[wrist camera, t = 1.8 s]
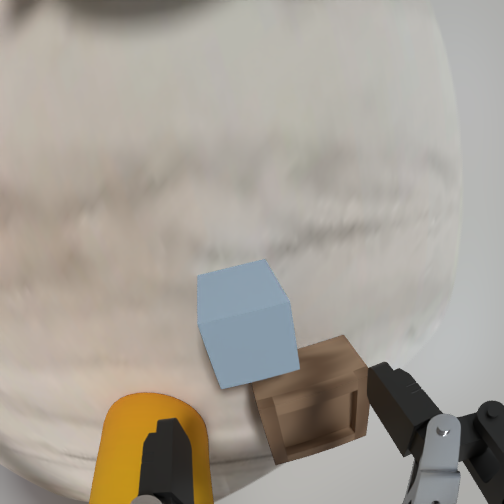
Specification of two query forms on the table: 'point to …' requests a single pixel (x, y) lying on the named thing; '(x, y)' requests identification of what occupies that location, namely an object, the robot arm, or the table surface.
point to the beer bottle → (131, 446)
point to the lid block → (246, 324)
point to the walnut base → (315, 401)
